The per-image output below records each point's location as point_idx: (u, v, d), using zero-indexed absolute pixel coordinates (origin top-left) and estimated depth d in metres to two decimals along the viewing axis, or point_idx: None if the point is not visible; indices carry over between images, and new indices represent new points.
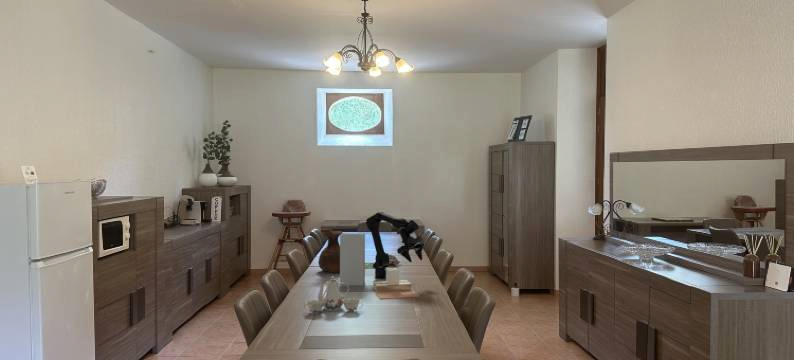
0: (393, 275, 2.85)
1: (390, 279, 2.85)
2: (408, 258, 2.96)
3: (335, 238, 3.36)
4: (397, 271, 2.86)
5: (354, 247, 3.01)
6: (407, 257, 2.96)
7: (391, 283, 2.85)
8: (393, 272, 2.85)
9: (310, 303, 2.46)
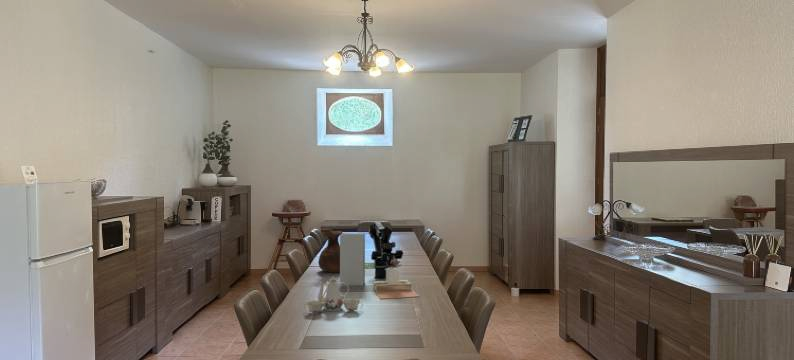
0: (393, 275, 2.85)
1: (390, 279, 2.85)
2: (386, 263, 2.99)
3: (335, 238, 3.36)
4: (397, 271, 2.86)
5: (354, 247, 3.01)
6: (386, 262, 2.99)
7: (391, 283, 2.85)
8: (393, 272, 2.85)
9: (310, 303, 2.46)
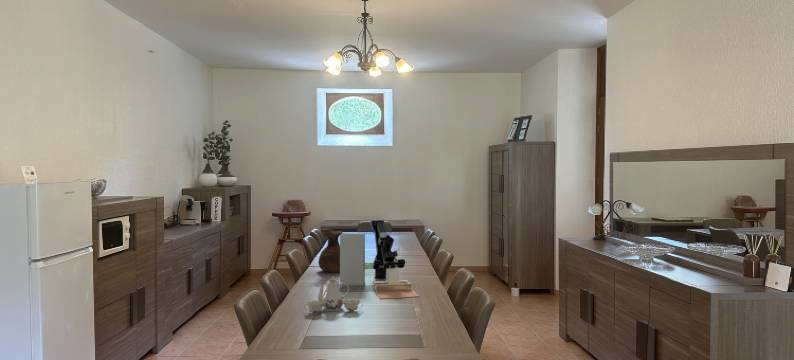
0: (393, 275, 2.85)
1: (390, 279, 2.85)
2: None
3: (335, 238, 3.36)
4: (397, 271, 2.86)
5: (354, 247, 3.01)
6: None
7: (391, 283, 2.85)
8: (393, 272, 2.85)
9: (310, 303, 2.46)
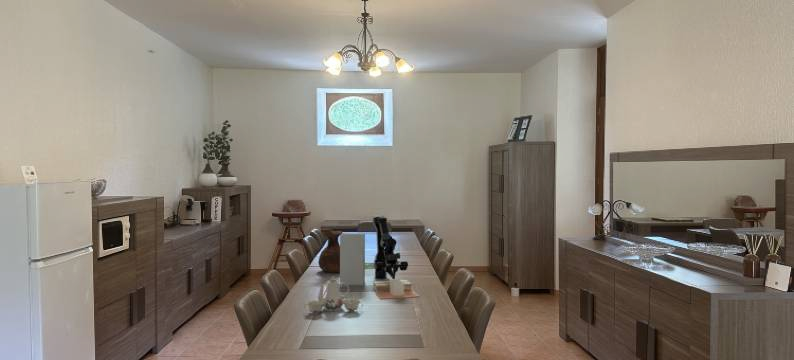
0: None
1: None
2: (391, 275, 2.87)
3: (335, 238, 3.36)
4: None
5: (354, 247, 3.01)
6: (390, 274, 2.88)
7: None
8: None
9: (310, 303, 2.45)
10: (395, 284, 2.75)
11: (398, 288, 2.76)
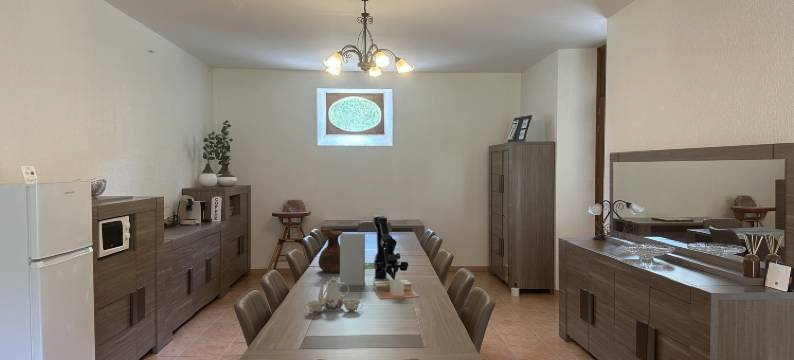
0: None
1: None
2: (391, 275, 2.87)
3: (335, 238, 3.36)
4: None
5: (354, 247, 3.01)
6: (390, 274, 2.88)
7: None
8: None
9: (310, 303, 2.45)
10: (395, 284, 2.75)
11: (398, 288, 2.76)
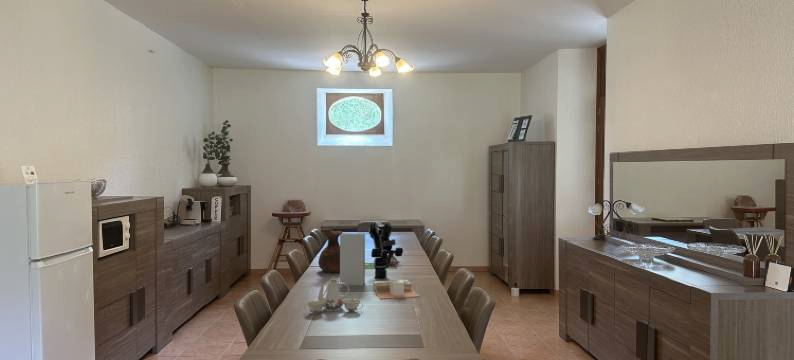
0: None
1: None
2: (386, 260, 2.99)
3: (335, 238, 3.36)
4: None
5: (354, 247, 3.01)
6: (386, 259, 2.99)
7: None
8: None
9: (310, 303, 2.45)
10: (395, 284, 2.75)
11: (398, 288, 2.76)
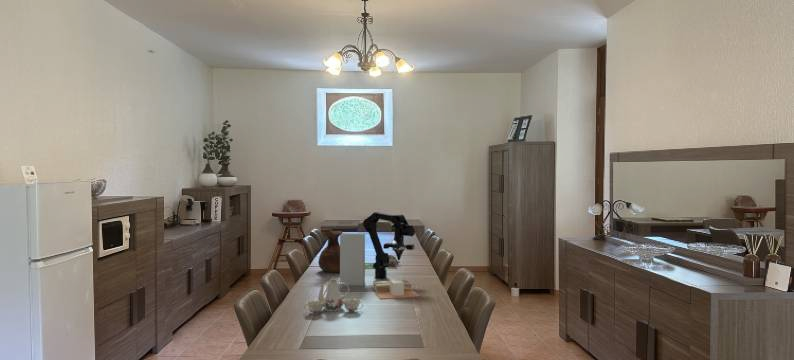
0: None
1: None
2: None
3: (335, 238, 3.36)
4: None
5: (354, 247, 3.01)
6: None
7: None
8: None
9: (310, 303, 2.45)
10: (395, 284, 2.75)
11: (398, 288, 2.76)
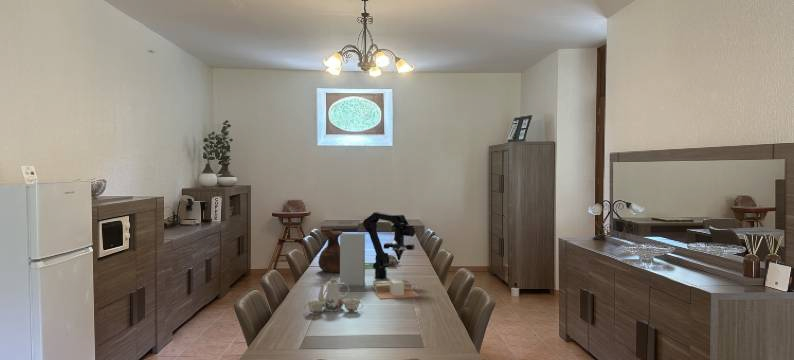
0: None
1: None
2: None
3: (335, 238, 3.36)
4: None
5: (354, 247, 3.01)
6: None
7: None
8: None
9: (310, 303, 2.45)
10: (395, 284, 2.75)
11: (398, 288, 2.76)
